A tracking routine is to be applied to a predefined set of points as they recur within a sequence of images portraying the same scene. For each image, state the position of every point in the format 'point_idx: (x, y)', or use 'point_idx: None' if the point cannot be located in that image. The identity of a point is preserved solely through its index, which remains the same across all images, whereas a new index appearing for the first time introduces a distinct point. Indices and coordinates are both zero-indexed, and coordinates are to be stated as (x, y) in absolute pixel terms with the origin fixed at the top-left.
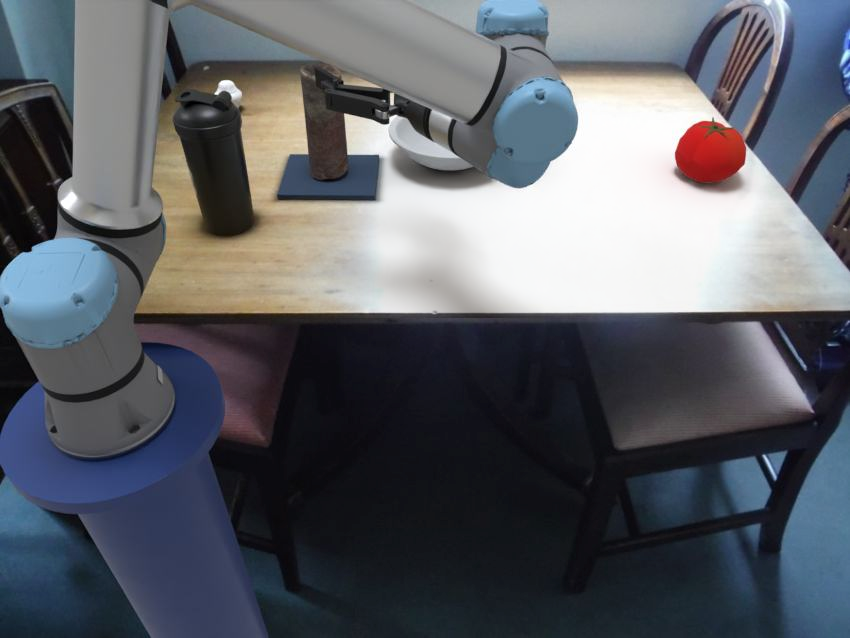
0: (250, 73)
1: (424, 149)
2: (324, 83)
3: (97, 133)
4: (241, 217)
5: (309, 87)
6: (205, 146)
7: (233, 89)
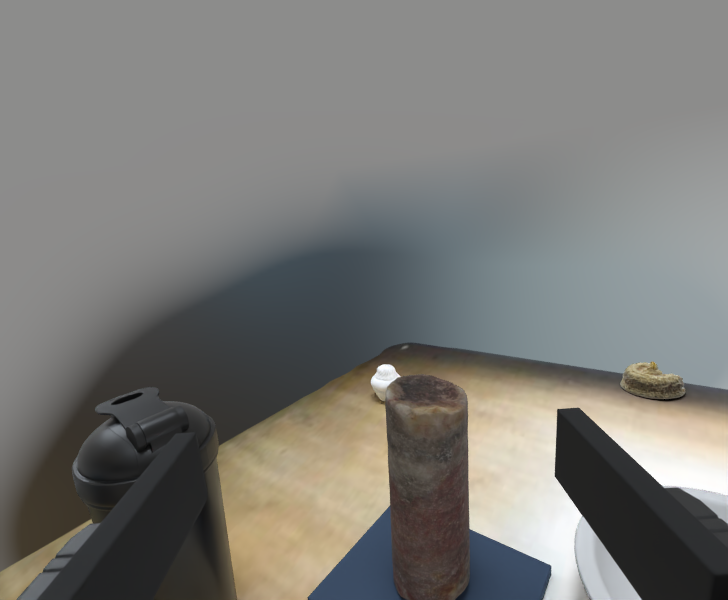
0: (440, 359)
1: None
2: (62, 553)
3: None
4: None
5: (390, 421)
6: (93, 512)
7: (390, 376)
